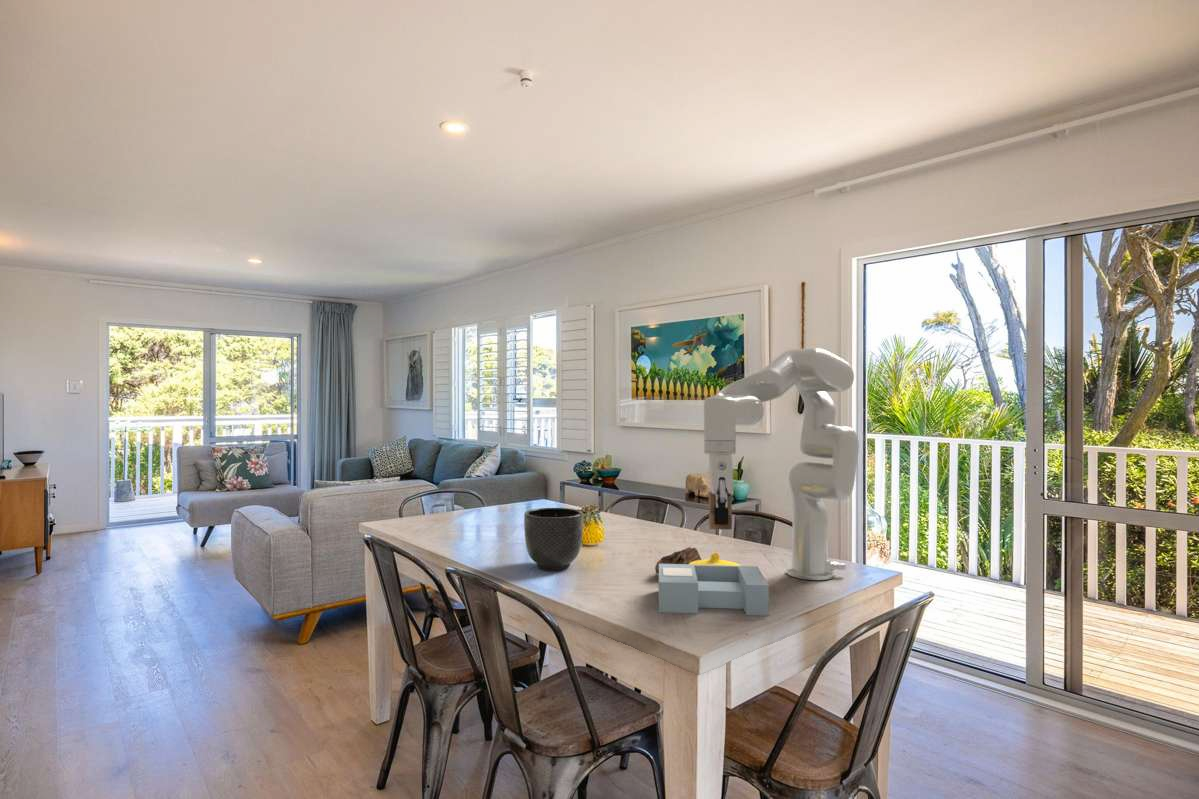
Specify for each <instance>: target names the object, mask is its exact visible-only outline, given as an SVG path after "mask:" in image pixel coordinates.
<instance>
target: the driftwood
mask: <svg viewBox="0 0 1199 799" xmlns="http://www.w3.org/2000/svg"><path fill="white" fill-rule="evenodd" d="M697 560H703V559H702V558H701V555H700V554H699V550H698V549H697V548H696V547H693V548H692V547H691V546H689V547H686V548H684V549H682V550H678V551H675V552H673V553H672V554H669V555H665V556H663V557H661V558H660V559H659V560H658V562H656V565H655V567H654V570H655V574H656V575H659V564H689V563H690V562H693V561H697Z"/></svg>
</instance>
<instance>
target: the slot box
mask: <svg viewBox="0 0 1199 799" xmlns="http://www.w3.org/2000/svg"><path fill="white" fill-rule="evenodd" d="M769 590H770V585H769V583H768V581H767V580H766V579H765V577H764V575H763V573H762V572H761V570H760V568H759V567H758V566H757V565H741V566H730V565H692V564H659V574H658V612H659V613H666V614H667V613H670V614H675V613H676V614H699V608H705V609H707V608H708V609H738V610H739V609H741V610H743V611H744V613H745V615H746V616H760V617H761V616H762V617H763V616H764V617H767V616H769V615H770V614H769V612H770V610H769V609H770V608H769V605H770V603H769V602H770V600H769V599H770V598H769V597H770V596H769V595H770V594H769V593H770V591H769Z"/></svg>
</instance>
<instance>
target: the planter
mask: <svg viewBox="0 0 1199 799" xmlns="http://www.w3.org/2000/svg"><path fill="white" fill-rule="evenodd" d="M523 517H524V518H523V520H524V521H523V523H524V524H523V525H524V526H523V527H524V528H523V529H524V542H525V547H526V548H525V549H526V551H527V554H528V556H529V558H530V559H531V560H532V561H533V562H534V563H535V564H536V566H537V568H539V569H540V570H542V571H548V572H550V571H551V572H554V571H555V572H556V571H557V572H558V571H564V570H566V569H569V567H570V566H571V563H572V562H574V561H575V560H576V558H577V557H578V556H579V553H580V550H581V548H582V542H583V530H584V513H583V511H581V510H579V509H575V508H567V507H542V508H541V507H540V508H534V509H530V510H526V511H525V512H524V516H523Z"/></svg>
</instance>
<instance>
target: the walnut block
mask: <svg viewBox="0 0 1199 799" xmlns="http://www.w3.org/2000/svg"><path fill="white" fill-rule="evenodd" d="M717 495H720V493H717ZM732 496H733V495H732ZM732 496H730V494H729V493H728V492H727V504H728V524H727V525H716V524H715V523H714V508H716V503H715V495H714V494H713V493H712V492H708V525H709V529H710V530H732V528H733V526H732V525H733V522H732V521H733V519H732V518H733V515H732V514H733V513H732V508H733V507H732V506H733V505H732V501H733V497H732ZM718 499H719V498H718Z"/></svg>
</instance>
